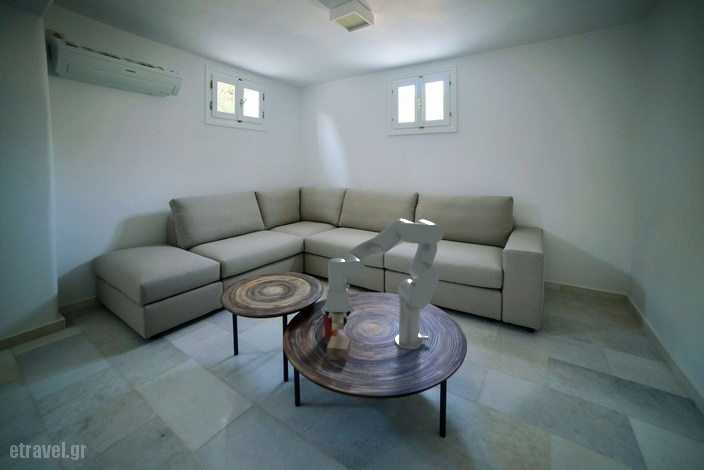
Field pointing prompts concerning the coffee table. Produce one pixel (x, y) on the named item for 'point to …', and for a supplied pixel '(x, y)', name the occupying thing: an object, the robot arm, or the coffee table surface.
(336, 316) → the oak block
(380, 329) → the coffee table surface
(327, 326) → the coffee cup
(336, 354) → the tan wooden cube
